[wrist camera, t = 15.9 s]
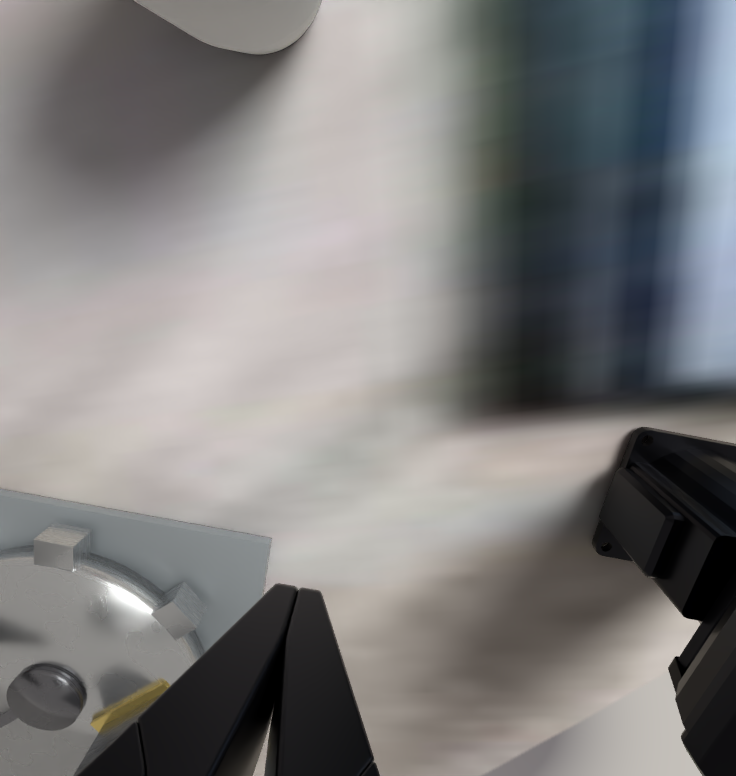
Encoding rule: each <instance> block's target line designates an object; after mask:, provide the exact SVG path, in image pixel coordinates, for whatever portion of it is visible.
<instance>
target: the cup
mask: <svg viewBox="0 0 736 776" xmlns="http://www.w3.org/2000/svg"><path fill="white" fill-rule="evenodd" d="M133 1H135V2H137V3H138V4H140V5H142V6H143V7H145V8H147V9H148V10H150V11H151V12H153V13H155V14H156V15H158V16H160V17H161V18H163V19H165V20H166V21H168V22H170V23H171V24H173V25H175V26H176V27H178V28H179V29H181V30H183V31H184V32H186V33H188V34H189V35H191V36H193V37H194V38H196V39H198V40H200V41H202V42H204V43H207V44H209V45H212V46H215V47H218V48H223V49H228V50H233V51H238V52H243V53H248V54H259V55H260V54H269V53H274V52H277V51H280V50H282V49H284V48H286V47H288V46H289V45H291V44H292V43H294V42H295V41H296V40H298V39H299V38H300V37H301V36H302V35H303V34H304V33H305V31H306V30H307V29H308V27H309V26H310V25H311V23H312V21H313V20H314V18H315V16H316V14H317V11H318V9H319V6H320V4H321V2H322V0H133Z"/></svg>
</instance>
